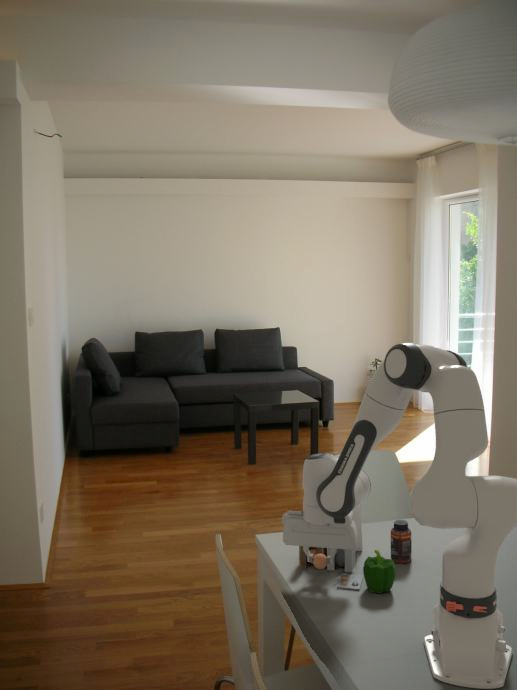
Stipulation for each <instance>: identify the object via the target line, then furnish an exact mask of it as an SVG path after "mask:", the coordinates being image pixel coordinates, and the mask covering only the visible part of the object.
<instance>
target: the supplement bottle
mask: <svg viewBox="0 0 517 690" xmlns="http://www.w3.org/2000/svg"><path fill="white" fill-rule="evenodd" d="M412 545H413V544H412V531H411V529H410V528H409V522H408V521H406V520H404V519H397V520H394V521H393V527H392V528H391V530H390V559H392V560H393V563H397V564H408V563H409V562H411V561H412V550H413V549H412Z"/></svg>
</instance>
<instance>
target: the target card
mask: <svg viewBox="0 0 517 690" xmlns="http://www.w3.org/2000/svg"><path fill="white" fill-rule="evenodd" d="M363 581H364V575H357V574H356V575H355V574H349V573H348V574H345V573H341V574H340V577H339V580H338V582H337V585H336V589H340V590H348V591H349V590H351V591H360V590H361V586H362V583H363Z"/></svg>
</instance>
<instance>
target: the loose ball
mask: <svg viewBox="0 0 517 690" xmlns="http://www.w3.org/2000/svg"><path fill="white" fill-rule="evenodd" d="M313 565H314V567H315V568H316V569H317V568H318V569H317V570H324V569H325V568H327V557H326V556H325V555H324V554H317V555H315V556H314V558H313ZM323 568H324V569H323Z"/></svg>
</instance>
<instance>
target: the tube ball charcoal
mask: <svg viewBox="0 0 517 690" xmlns="http://www.w3.org/2000/svg"><path fill="white" fill-rule="evenodd" d="M334 560H335V561H334V564H336V565H337V566H338V567H345V553H344V552H338V553H337V554H336V555H335V558H334Z"/></svg>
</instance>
